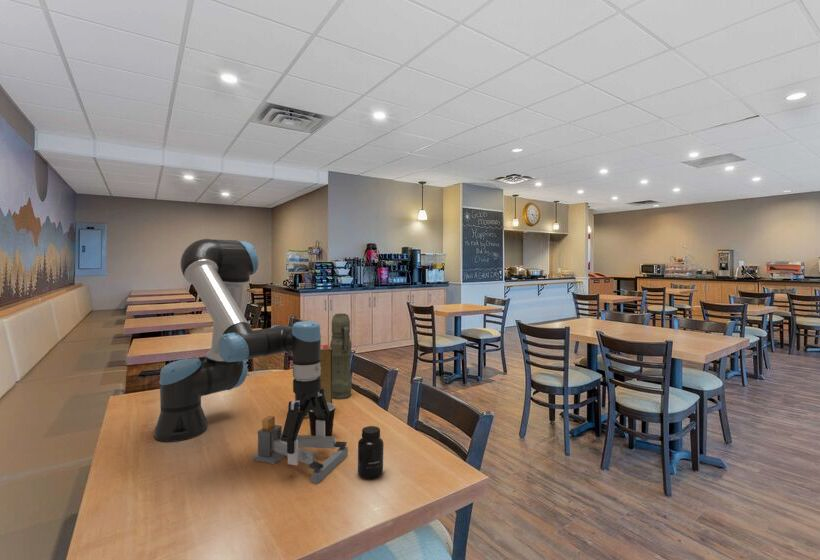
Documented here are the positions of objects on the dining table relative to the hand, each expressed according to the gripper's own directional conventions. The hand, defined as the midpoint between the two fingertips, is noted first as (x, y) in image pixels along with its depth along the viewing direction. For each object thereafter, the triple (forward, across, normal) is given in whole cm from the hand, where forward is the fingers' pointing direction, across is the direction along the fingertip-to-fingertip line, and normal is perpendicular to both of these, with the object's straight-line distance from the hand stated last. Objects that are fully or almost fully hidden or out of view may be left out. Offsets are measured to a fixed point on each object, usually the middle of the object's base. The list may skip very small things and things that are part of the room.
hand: (307, 452), depth 110 cm
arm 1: (0, -4, +1) cm, 4 cm away
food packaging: (+3, +33, +19) cm, 38 cm away
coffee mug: (+3, +17, +5) cm, 18 cm away
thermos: (+3, +54, +19) cm, 57 cm away
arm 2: (0, +4, +1) cm, 5 cm away
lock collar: (+2, 0, +13) cm, 13 cm away
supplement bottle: (+4, +1, -19) cm, 19 cm away
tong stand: (+3, 0, +4) cm, 5 cm away
